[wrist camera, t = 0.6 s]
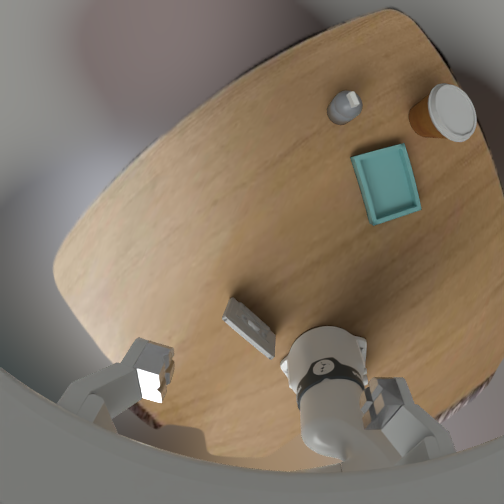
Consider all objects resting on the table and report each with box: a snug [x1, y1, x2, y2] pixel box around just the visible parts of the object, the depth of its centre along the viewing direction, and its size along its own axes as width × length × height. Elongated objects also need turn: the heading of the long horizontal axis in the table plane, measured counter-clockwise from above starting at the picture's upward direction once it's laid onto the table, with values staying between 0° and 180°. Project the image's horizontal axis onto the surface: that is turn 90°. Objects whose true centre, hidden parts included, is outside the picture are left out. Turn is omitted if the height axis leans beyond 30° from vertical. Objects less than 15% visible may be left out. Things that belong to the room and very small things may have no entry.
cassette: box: [222, 297, 276, 360], centre depth 50 cm, size 12×2×8 cm, turn 46°
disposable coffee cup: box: [409, 84, 477, 142], centre depth 34 cm, size 10×10×12 cm
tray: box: [350, 143, 422, 226], centre depth 42 cm, size 12×10×2 cm
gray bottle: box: [327, 91, 363, 125], centre depth 36 cm, size 4×4×10 cm
